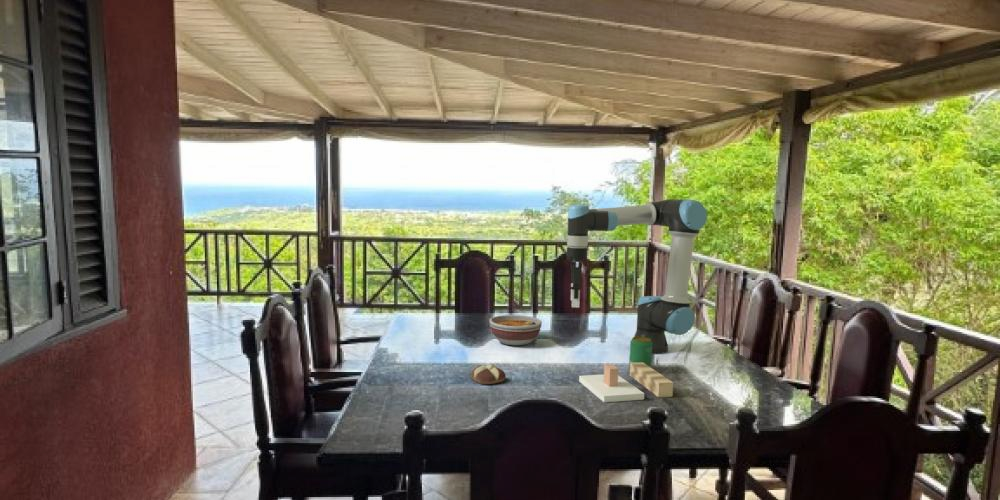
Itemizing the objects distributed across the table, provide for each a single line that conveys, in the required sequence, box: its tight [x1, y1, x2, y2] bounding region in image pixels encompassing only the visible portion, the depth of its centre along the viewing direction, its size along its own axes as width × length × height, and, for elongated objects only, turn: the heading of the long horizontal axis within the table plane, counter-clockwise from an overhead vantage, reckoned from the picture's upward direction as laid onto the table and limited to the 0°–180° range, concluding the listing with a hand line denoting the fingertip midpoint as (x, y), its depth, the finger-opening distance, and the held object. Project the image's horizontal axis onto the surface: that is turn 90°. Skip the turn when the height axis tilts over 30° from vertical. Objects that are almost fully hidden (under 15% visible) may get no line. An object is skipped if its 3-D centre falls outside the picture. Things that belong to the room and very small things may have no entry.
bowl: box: [489, 314, 543, 346], centre depth 240 cm, size 23×23×10 cm
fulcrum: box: [578, 364, 645, 403], centre depth 183 cm, size 14×20×8 cm
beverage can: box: [628, 336, 653, 368], centre depth 206 cm, size 8×8×12 cm
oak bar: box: [629, 362, 674, 398], centre depth 189 cm, size 22×5×5 cm, turn 11°
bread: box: [470, 363, 507, 385], centre depth 190 cm, size 11×11×5 cm
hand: (574, 303), depth 204 cm, fingers open, 13 cm apart
